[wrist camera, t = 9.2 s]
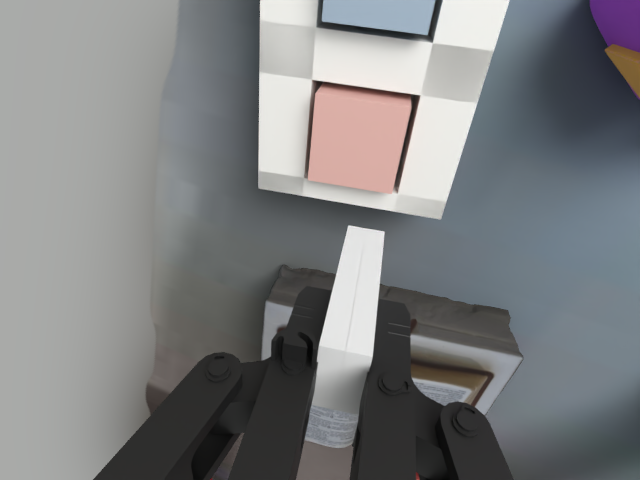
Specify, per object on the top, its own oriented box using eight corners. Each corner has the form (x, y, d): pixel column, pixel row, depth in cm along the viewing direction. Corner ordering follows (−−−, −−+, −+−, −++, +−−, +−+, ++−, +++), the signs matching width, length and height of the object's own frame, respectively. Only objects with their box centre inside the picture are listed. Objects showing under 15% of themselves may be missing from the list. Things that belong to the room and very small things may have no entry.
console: (435, 184, 35) (440, 219, 30) (278, 158, 36) (258, 188, 31) (524, -124, 23) (557, -151, 18) (290, -146, 25) (261, -176, 20)
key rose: (393, 172, 31) (391, 194, 28) (317, 160, 31) (307, 180, 28) (410, 92, 28) (411, 107, 24) (324, 80, 28) (315, 93, 25)
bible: (295, 224, 40) (267, 288, 32) (542, 319, 41) (575, 404, 33) (246, 361, 53) (218, 431, 45) (433, 430, 54) (438, 510, 46)
